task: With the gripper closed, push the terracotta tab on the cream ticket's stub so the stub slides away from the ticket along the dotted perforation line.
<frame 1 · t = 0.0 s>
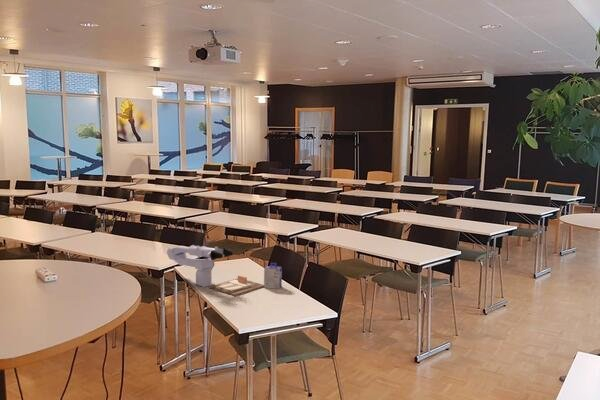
hand: (227, 254, 284), 22 cm above the table, tool horizontal, fingers open, 7 cm apart
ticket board: (237, 287, 295), on the table
ink cartridge box: (272, 287, 297), on the table
stub: (239, 281, 296), point 3 cm above the table, slide at 0.0 cm
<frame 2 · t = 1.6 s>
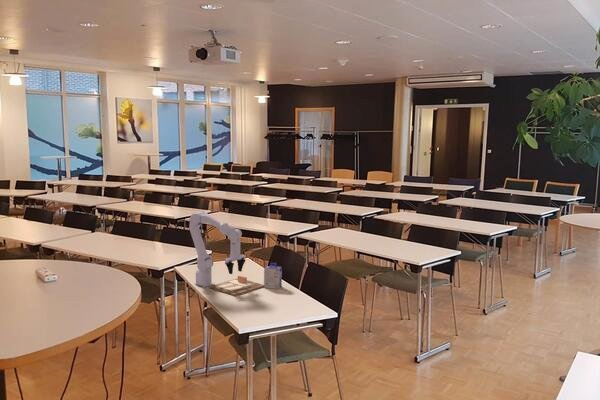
hand: (235, 272, 292), 9 cm above the table, tool pointing down, fingers open, 7 cm apart
nothing on the table moved.
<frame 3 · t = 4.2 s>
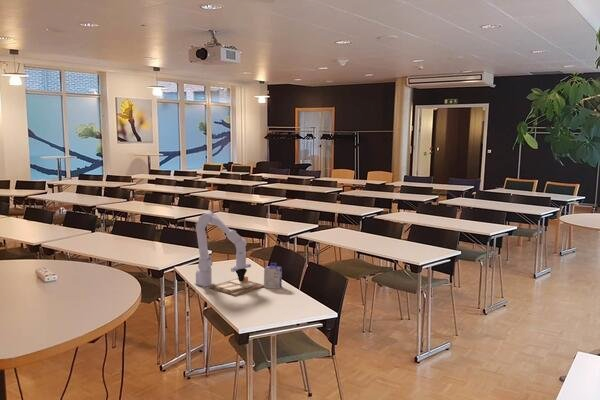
hand: (241, 281, 296), 3 cm above the table, tool pointing down, fingers closed
stub: (241, 280, 297), point 3 cm above the table, slide at 1.1 cm, touching gripper
everything else where it was.
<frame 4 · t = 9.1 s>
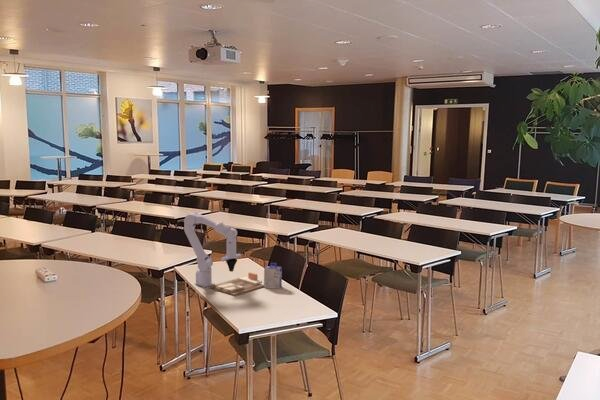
hand: (231, 271, 295), 9 cm above the table, tool pointing down, fingers closed
stub: (250, 277, 303), point 3 cm above the table, slide at 9.0 cm
everything else where it was.
at the end: stub slide at 9.0 cm; ink cartridge box moved 0.3 cm from its start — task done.
